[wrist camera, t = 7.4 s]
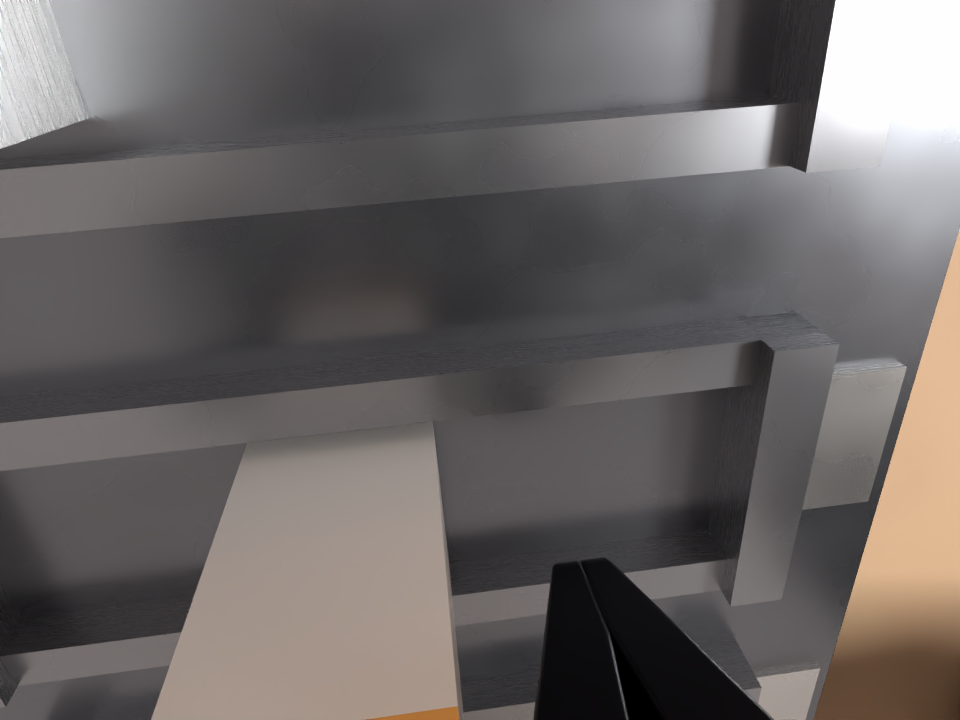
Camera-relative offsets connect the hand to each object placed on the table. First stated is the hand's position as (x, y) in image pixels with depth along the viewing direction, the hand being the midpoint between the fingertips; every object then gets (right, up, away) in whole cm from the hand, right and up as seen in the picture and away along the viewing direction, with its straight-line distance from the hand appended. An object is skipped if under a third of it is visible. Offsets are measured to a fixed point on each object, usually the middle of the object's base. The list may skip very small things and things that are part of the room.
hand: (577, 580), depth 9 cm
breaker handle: (-4, +1, +2) cm, 4 cm away
